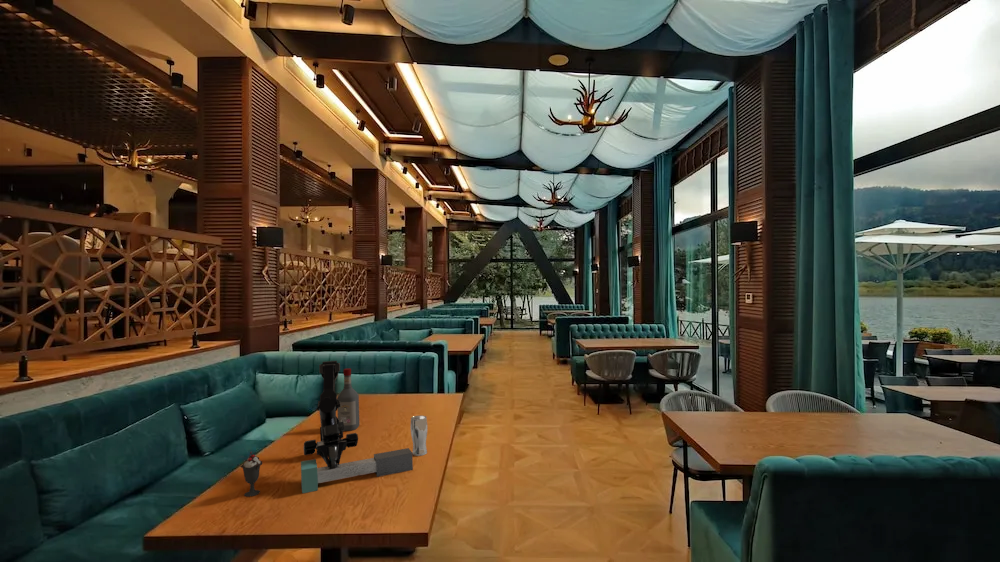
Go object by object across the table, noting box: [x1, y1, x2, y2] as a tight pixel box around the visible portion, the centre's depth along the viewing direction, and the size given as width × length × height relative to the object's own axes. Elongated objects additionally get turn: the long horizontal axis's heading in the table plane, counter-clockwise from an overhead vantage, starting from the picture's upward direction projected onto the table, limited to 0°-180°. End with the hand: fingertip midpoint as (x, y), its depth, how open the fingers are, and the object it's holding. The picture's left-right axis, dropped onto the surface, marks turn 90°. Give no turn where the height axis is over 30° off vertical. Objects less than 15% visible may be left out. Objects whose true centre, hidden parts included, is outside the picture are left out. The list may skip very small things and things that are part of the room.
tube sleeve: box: [373, 447, 414, 478], centre depth 176 cm, size 13×6×6 cm, turn 115°
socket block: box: [300, 458, 319, 494], centre depth 164 cm, size 5×9×8 cm, turn 25°
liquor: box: [336, 368, 360, 432], centre depth 234 cm, size 9×9×30 cm
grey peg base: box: [317, 445, 377, 484], centre depth 169 cm, size 25×4×12 cm, turn 115°
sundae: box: [240, 451, 263, 498], centre depth 160 cm, size 7×7×15 cm
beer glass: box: [410, 415, 428, 457], centre depth 194 cm, size 7×7×15 cm
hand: (333, 465), depth 166 cm, fingers closed on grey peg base, 3 cm apart
